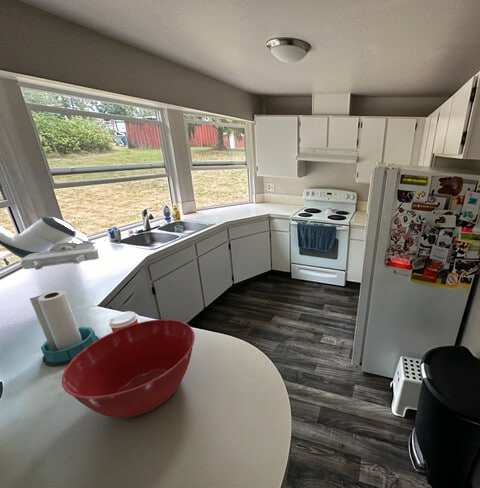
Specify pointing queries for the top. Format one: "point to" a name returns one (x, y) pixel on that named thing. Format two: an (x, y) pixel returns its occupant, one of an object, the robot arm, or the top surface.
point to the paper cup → (123, 320)
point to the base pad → (68, 349)
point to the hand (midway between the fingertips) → (57, 264)
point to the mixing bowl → (131, 368)
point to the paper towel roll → (56, 320)
